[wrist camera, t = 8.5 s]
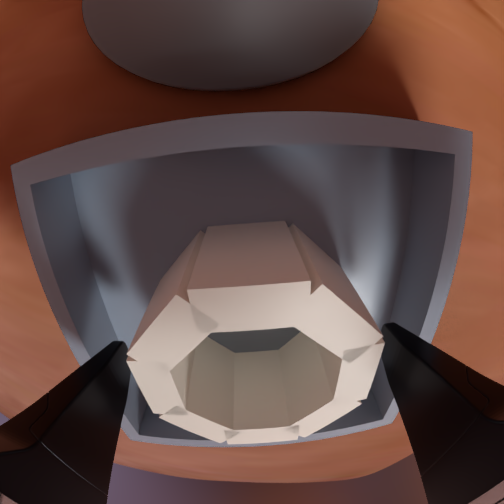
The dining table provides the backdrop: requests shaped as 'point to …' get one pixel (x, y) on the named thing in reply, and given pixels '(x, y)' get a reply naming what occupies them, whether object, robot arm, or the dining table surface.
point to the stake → (225, 38)
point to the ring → (254, 318)
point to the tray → (241, 212)
